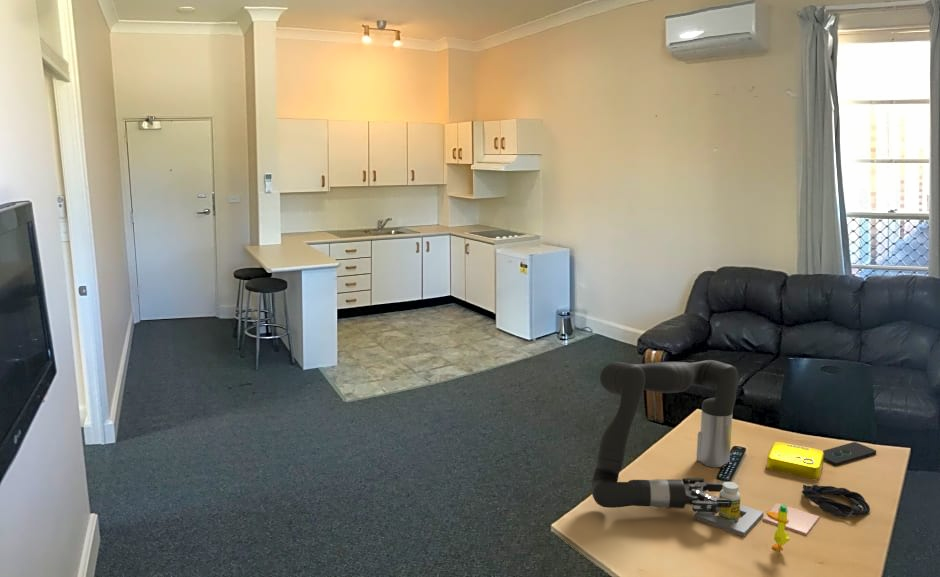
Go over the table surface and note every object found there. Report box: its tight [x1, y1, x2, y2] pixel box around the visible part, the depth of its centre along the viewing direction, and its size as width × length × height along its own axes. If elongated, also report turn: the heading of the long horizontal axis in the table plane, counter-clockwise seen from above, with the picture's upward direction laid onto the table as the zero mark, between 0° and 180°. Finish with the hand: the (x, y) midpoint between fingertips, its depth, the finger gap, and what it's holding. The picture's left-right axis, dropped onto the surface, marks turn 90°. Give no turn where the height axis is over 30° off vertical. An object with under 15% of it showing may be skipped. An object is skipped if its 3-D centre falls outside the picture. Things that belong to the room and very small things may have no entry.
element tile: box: [766, 441, 825, 480], centre depth 212 cm, size 15×15×5 cm
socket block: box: [693, 495, 764, 538], centre depth 183 cm, size 14×14×1 cm
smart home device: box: [822, 441, 877, 467], centre depth 219 cm, size 8×2×20 cm
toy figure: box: [765, 503, 792, 552], centre depth 167 cm, size 7×4×12 cm, turn 37°
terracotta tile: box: [762, 502, 820, 536], centre depth 181 cm, size 11×11×1 cm
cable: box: [801, 484, 871, 518], centre depth 189 cm, size 17×14×4 cm
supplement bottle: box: [718, 481, 742, 523], centre depth 182 cm, size 5×5×10 cm
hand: (726, 495), depth 182 cm, fingers open, 8 cm apart
